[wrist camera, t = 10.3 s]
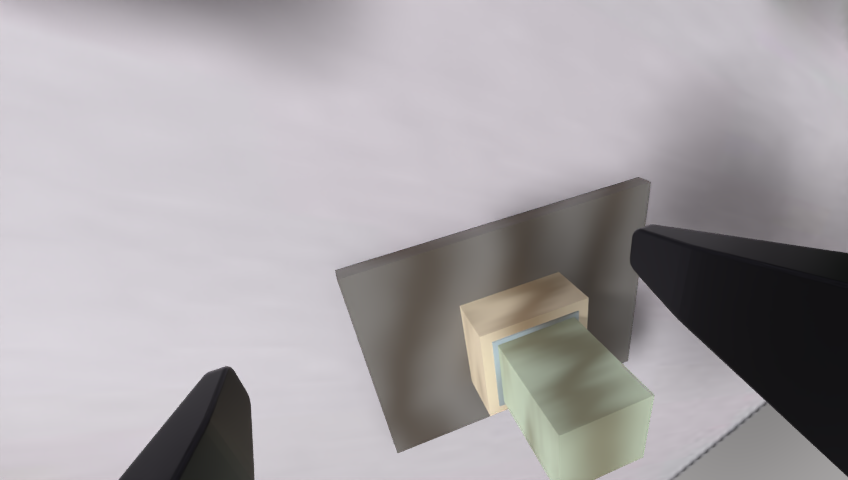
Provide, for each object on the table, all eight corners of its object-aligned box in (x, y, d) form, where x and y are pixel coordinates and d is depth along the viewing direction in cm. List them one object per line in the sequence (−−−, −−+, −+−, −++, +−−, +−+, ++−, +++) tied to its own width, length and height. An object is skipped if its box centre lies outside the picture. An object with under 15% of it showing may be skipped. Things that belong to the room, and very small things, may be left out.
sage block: (574, 316, 23) (654, 395, 18) (573, 374, 26) (643, 457, 21) (497, 345, 22) (559, 436, 17) (504, 401, 25) (559, 495, 20)
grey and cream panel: (638, 177, 25) (694, 199, 22) (619, 352, 33) (657, 389, 30) (335, 270, 22) (344, 314, 18) (394, 441, 30) (408, 494, 26)
